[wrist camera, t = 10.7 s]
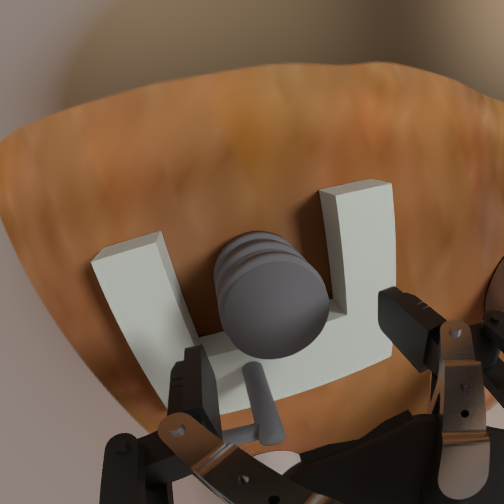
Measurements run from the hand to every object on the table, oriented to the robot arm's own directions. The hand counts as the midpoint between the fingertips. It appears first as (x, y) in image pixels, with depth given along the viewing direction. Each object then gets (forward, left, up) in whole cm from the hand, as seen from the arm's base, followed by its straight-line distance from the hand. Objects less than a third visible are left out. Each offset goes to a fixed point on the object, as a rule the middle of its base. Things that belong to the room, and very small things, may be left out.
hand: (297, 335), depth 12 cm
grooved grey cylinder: (0, 0, -7) cm, 7 cm away
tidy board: (0, +3, -7) cm, 8 cm away
